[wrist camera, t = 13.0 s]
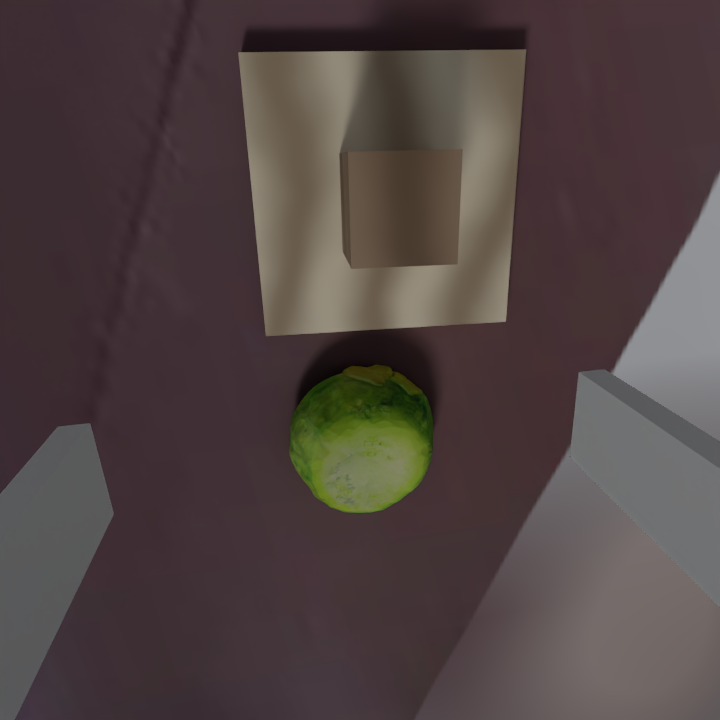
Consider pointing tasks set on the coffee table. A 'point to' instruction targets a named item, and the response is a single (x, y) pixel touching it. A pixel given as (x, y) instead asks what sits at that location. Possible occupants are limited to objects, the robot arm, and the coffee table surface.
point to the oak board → (378, 133)
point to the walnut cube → (400, 207)
